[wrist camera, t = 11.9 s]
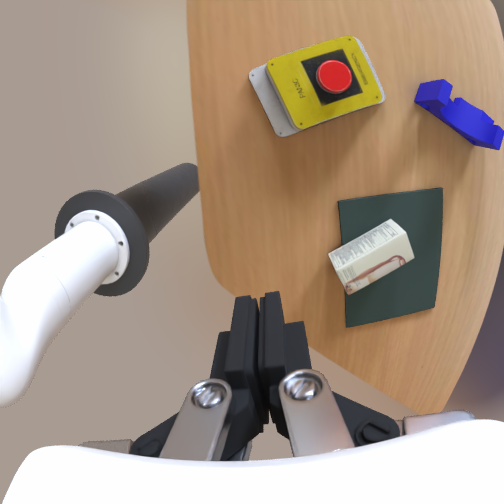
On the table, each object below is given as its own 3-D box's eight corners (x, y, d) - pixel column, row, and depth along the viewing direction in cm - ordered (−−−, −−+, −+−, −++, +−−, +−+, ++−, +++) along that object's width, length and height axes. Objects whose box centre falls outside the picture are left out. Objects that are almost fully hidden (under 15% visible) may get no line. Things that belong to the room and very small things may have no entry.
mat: (345, 326, 44) (346, 327, 44) (337, 200, 36) (338, 201, 36) (433, 306, 42) (434, 307, 42) (441, 187, 35) (442, 188, 34)
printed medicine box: (348, 297, 36) (416, 259, 33) (334, 271, 34) (406, 231, 32) (339, 276, 41) (400, 243, 38) (326, 252, 39) (390, 217, 36)
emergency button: (400, 98, 27) (280, 140, 30) (385, 101, 31) (278, 139, 34) (367, 26, 24) (243, 65, 27) (356, 36, 28) (246, 72, 31)
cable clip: (481, 120, 30) (507, 122, 25) (473, 145, 32) (499, 150, 26) (423, 74, 29) (446, 69, 23) (414, 101, 31) (437, 99, 25)
